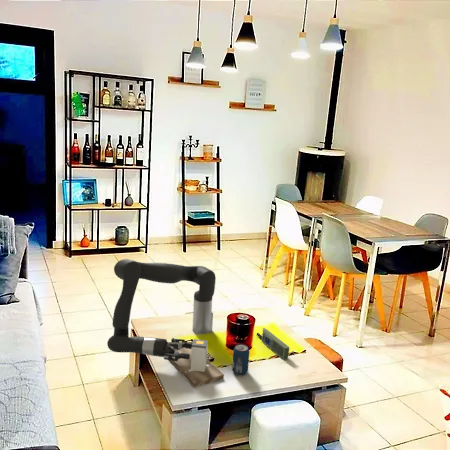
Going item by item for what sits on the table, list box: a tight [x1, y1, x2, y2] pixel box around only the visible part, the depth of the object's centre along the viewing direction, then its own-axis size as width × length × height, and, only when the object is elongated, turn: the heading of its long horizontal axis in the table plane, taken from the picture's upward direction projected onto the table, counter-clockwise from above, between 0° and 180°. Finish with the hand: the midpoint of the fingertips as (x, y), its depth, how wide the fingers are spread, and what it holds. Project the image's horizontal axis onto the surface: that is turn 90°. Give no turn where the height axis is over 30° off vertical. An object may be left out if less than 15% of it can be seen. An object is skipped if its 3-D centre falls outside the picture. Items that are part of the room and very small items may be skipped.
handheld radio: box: [256, 327, 290, 361], centre depth 225 cm, size 7×3×25 cm
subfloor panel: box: [169, 348, 225, 388], centre depth 206 cm, size 14×30×2 cm, turn 32°
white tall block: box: [191, 338, 209, 372], centre depth 200 cm, size 5×6×12 cm
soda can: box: [231, 343, 250, 377], centre depth 202 cm, size 7×7×12 cm
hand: (191, 351), depth 200 cm, fingers open, 8 cm apart
